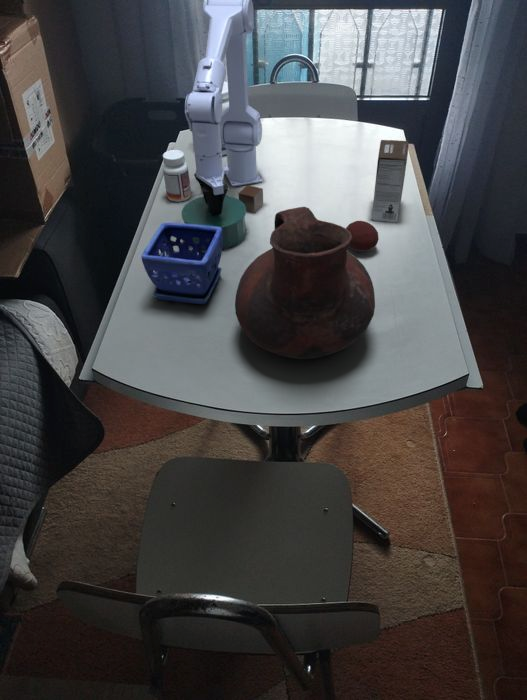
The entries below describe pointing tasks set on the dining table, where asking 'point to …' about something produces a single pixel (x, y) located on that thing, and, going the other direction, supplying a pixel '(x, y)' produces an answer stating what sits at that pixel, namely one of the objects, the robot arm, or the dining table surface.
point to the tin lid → (201, 215)
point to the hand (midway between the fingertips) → (213, 208)
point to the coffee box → (389, 180)
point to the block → (251, 198)
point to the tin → (230, 235)
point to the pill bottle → (176, 176)
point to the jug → (305, 290)
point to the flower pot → (184, 262)
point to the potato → (362, 236)
